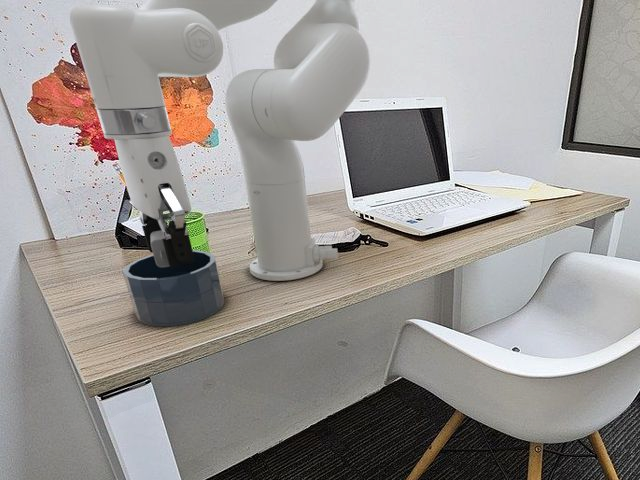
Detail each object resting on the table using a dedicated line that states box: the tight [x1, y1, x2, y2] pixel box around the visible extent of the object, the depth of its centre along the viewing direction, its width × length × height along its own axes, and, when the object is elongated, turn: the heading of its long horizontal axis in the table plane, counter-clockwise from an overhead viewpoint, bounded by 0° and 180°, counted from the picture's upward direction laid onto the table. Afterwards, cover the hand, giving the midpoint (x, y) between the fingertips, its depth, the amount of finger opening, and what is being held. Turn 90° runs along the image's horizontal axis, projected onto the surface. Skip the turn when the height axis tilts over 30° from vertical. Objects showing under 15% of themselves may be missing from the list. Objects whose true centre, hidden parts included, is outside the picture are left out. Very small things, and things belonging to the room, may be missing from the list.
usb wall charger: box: [150, 230, 170, 267], centre depth 66 cm, size 4×7×4 cm, turn 28°
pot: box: [122, 249, 225, 328], centre depth 69 cm, size 12×12×7 cm
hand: (171, 256), depth 67 cm, fingers closed on usb wall charger, 7 cm apart
